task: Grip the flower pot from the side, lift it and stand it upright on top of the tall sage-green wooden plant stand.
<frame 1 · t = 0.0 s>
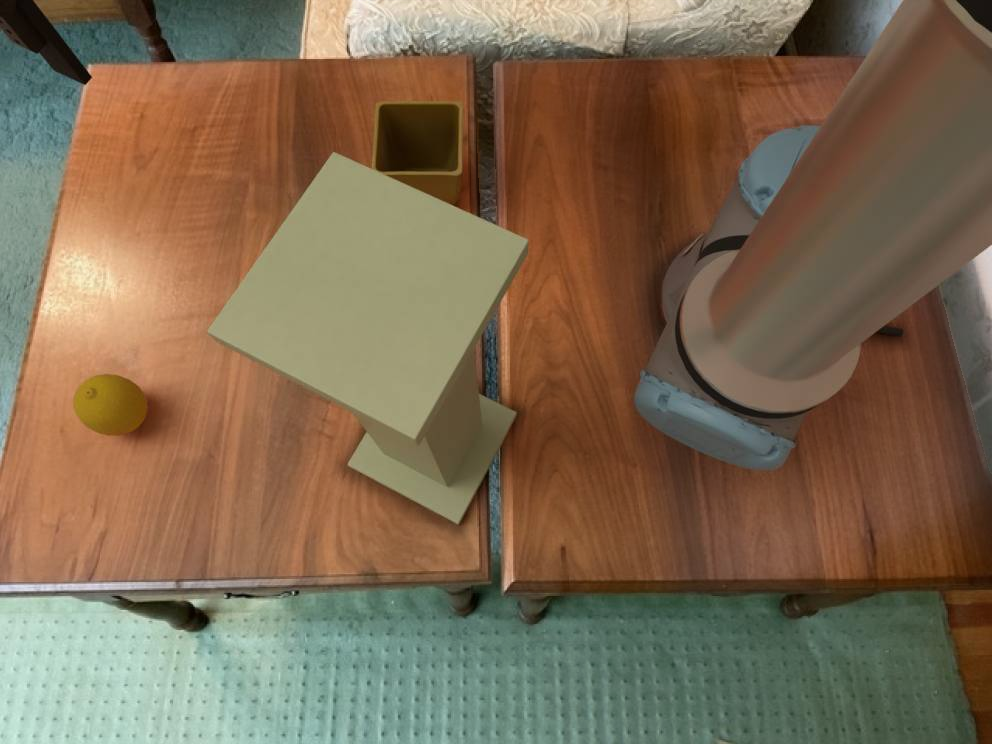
hand: (134, 5, 49), 28 cm above the table, tool pointing down, fingers open, 13 cm apart
plant stand: (433, 440, 67), on the table
lemon: (134, 417, 69), on the table
flower pot: (427, 190, 77), on the table
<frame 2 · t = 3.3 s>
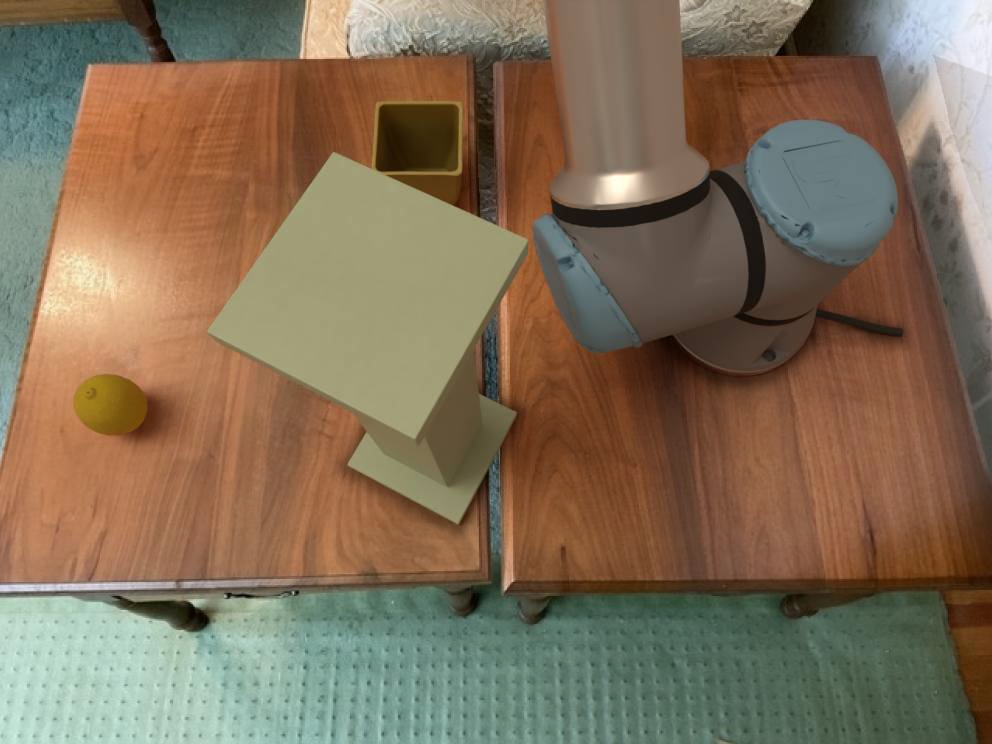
nothing on the table moved.
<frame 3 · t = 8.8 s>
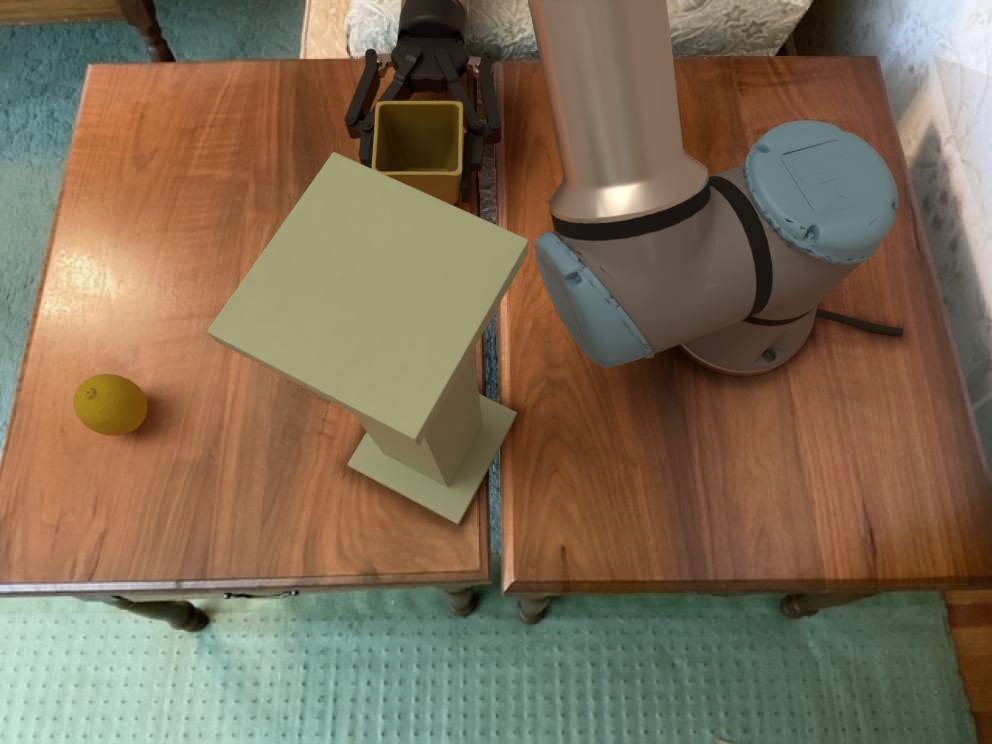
hand: (417, 193, 70), 6 cm above the table, tool horizontal, fingers closed on flower pot, 9 cm apart
flower pot: (427, 190, 77), on the table, touching gripper
everything else where it was.
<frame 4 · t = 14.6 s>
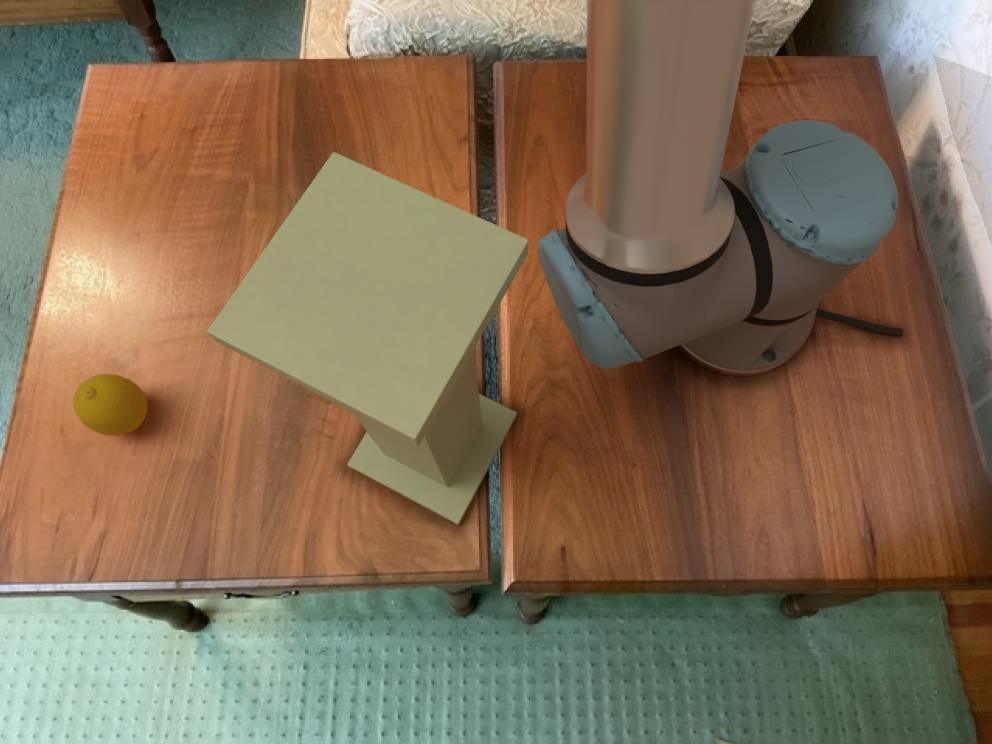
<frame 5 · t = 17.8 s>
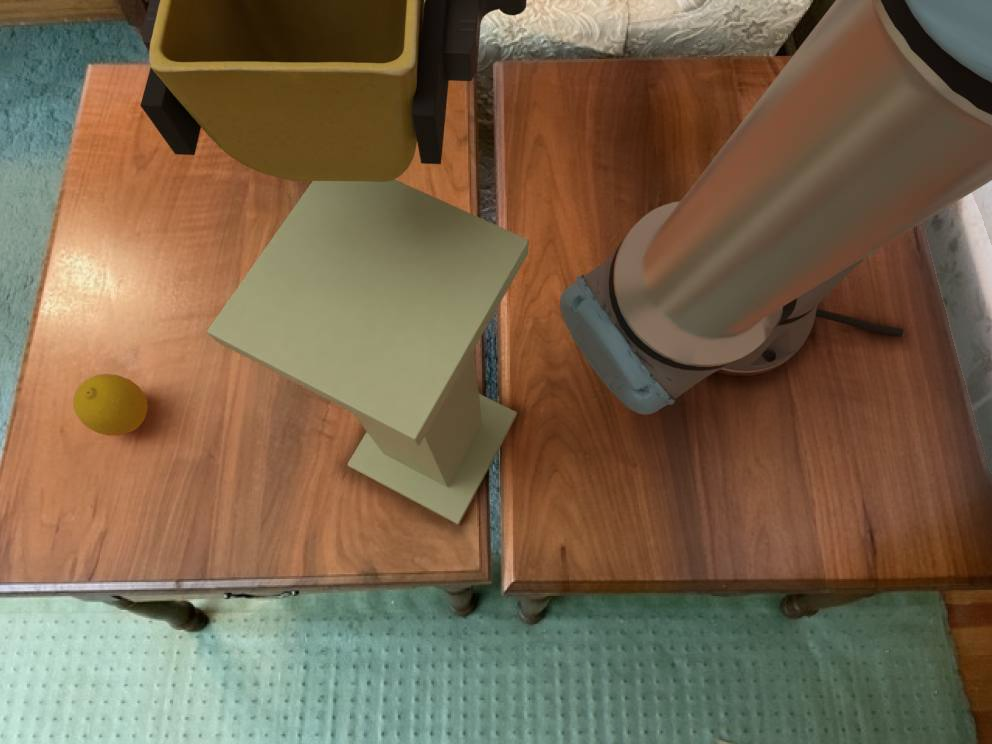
hand: (297, 135, 25), 45 cm above the table, tool horizontal, fingers closed on flower pot, 9 cm apart
flower pot: (349, 139, 33), point 39 cm above the table, touching gripper
everything else where it was.
when the fingers open (40 cm above the table, at t = 20.3 s): flower pot stays where it is, resting on plant stand.
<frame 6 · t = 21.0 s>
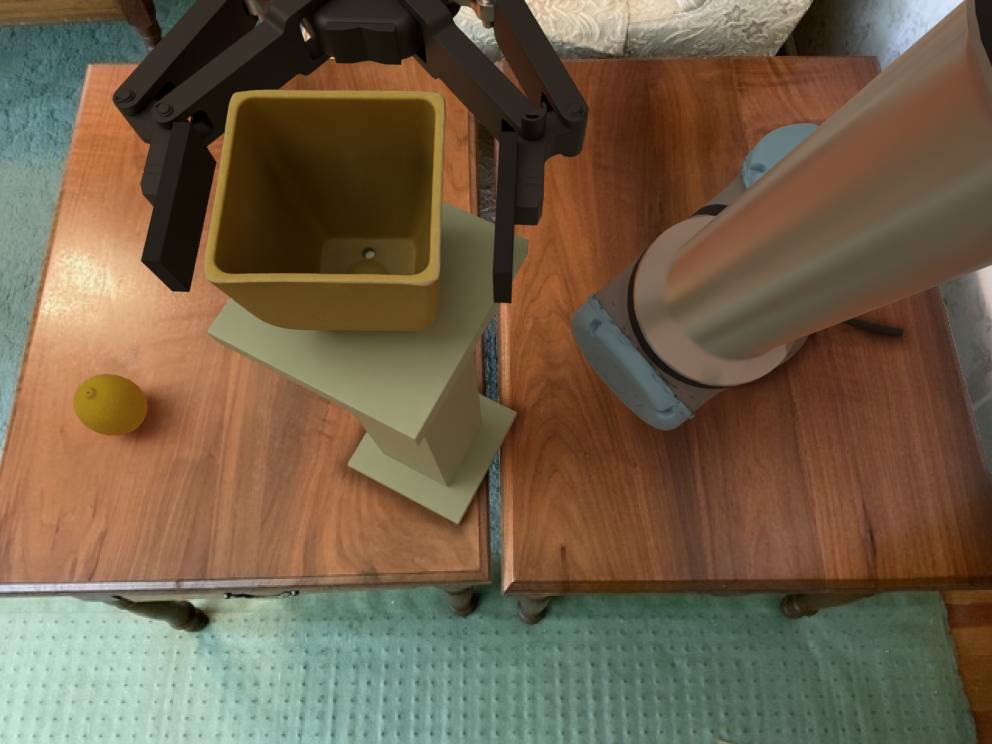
hand: (333, 284, 28), 41 cm above the table, tool horizontal, fingers open, 13 cm apart
flower pot: (371, 285, 36), point 34 cm above the table, touching plant stand
everything else where it was.
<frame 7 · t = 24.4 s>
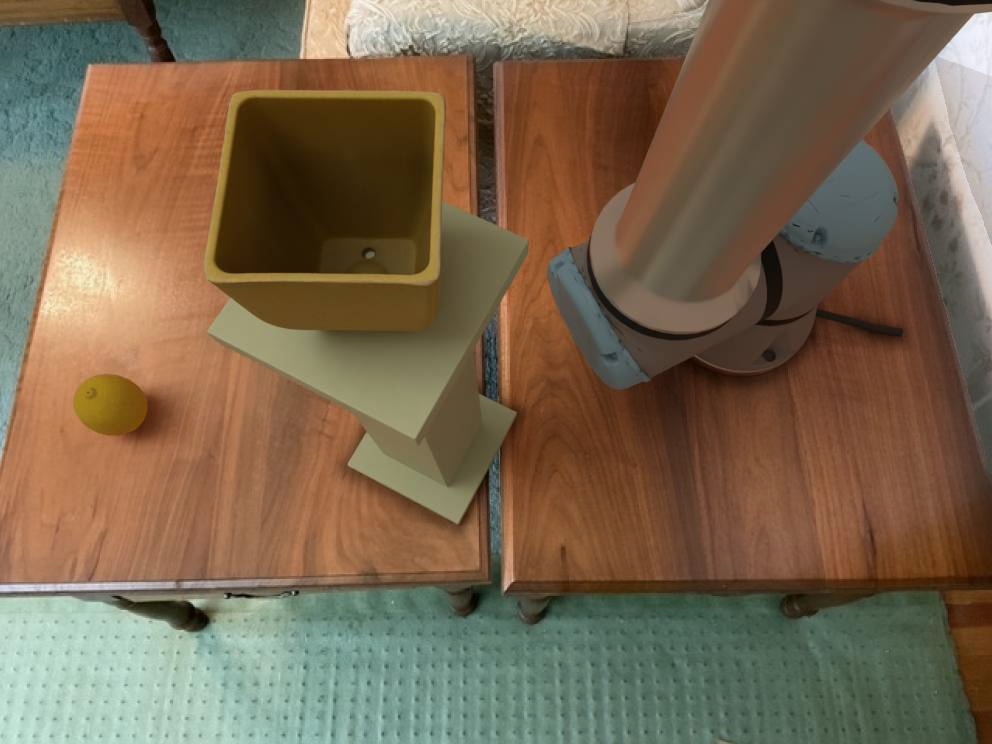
nothing on the table moved.
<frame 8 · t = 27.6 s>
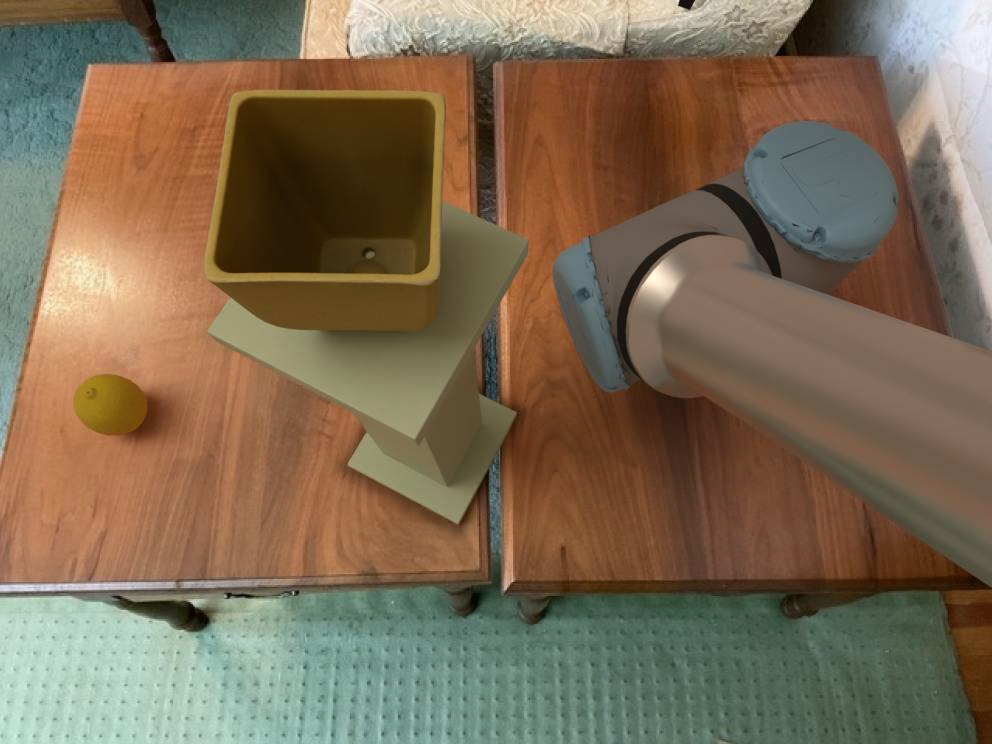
nothing on the table moved.
at the end: flower pot inside the target area on the plant stand (0.0 cm from its centre), point 33.8 cm above the plant stand's base; flower pot tilted 0°; the gripper is holding nothing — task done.
